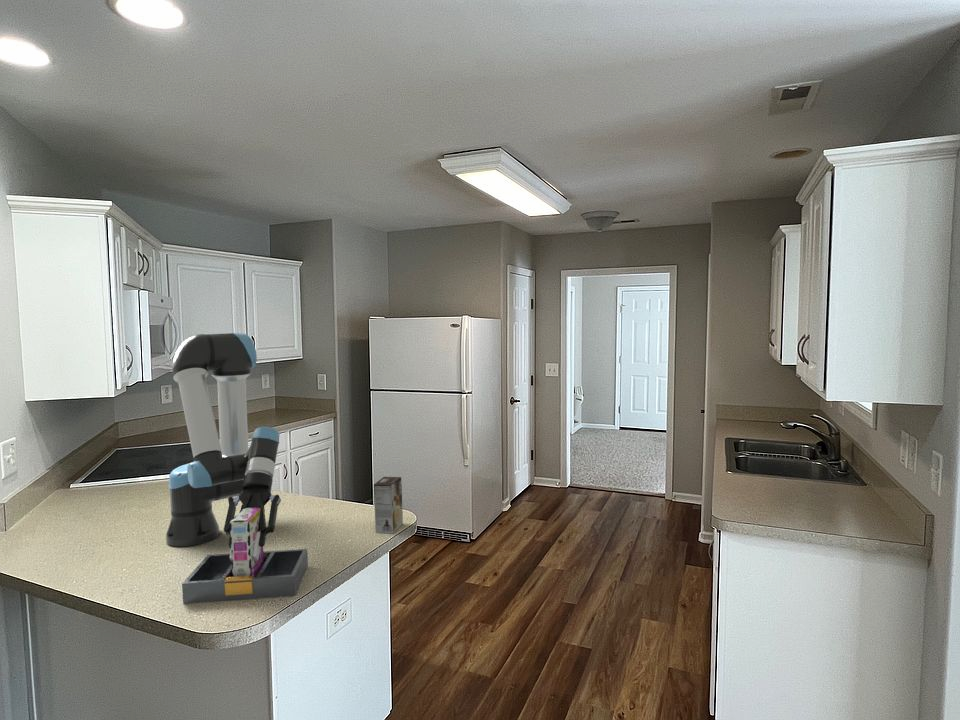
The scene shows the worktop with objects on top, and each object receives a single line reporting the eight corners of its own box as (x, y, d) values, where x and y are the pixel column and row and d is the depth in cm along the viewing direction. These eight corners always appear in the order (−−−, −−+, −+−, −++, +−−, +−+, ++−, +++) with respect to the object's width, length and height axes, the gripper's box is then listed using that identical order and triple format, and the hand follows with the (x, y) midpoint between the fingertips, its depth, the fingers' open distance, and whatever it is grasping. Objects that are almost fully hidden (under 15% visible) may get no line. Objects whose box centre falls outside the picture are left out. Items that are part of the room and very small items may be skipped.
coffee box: (385, 522, 190) (383, 475, 189) (403, 523, 189) (401, 476, 188) (374, 533, 181) (373, 483, 180) (393, 534, 180) (392, 484, 179)
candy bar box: (252, 584, 142) (249, 520, 141) (232, 585, 141) (228, 521, 140) (265, 564, 153) (262, 505, 152) (246, 566, 153) (242, 506, 151)
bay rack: (182, 604, 137) (181, 583, 137) (208, 572, 154) (207, 553, 154) (294, 596, 140) (293, 575, 140) (308, 566, 157) (307, 547, 157)
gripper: (294, 482, 162) (283, 562, 147) (229, 485, 160) (211, 567, 145) (289, 469, 156) (277, 551, 141) (221, 472, 154) (202, 555, 139)
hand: (244, 559), depth 143 cm, fingers closed on candy bar box, 5 cm apart
